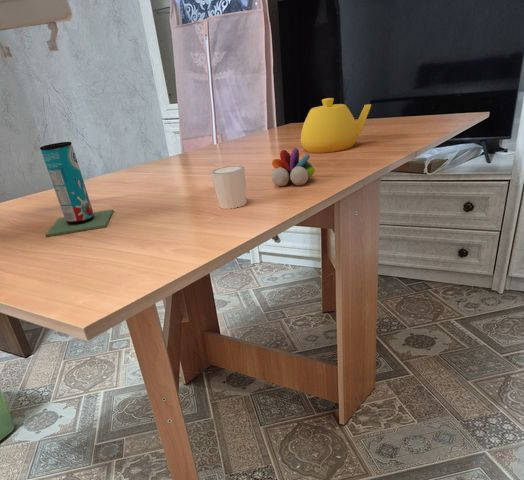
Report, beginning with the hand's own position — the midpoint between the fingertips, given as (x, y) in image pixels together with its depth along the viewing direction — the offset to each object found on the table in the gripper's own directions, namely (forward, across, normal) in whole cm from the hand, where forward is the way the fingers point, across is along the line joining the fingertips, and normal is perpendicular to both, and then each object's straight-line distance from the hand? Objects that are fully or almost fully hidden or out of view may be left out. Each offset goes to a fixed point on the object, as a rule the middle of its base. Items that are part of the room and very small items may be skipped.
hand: (30, 54), depth 95 cm
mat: (+31, -3, +16) cm, 35 cm away
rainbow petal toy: (+31, -50, +11) cm, 60 cm away
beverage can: (+31, -3, +16) cm, 35 cm away
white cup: (+31, -35, +21) cm, 51 cm away
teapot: (+31, -70, -24) cm, 80 cm away
